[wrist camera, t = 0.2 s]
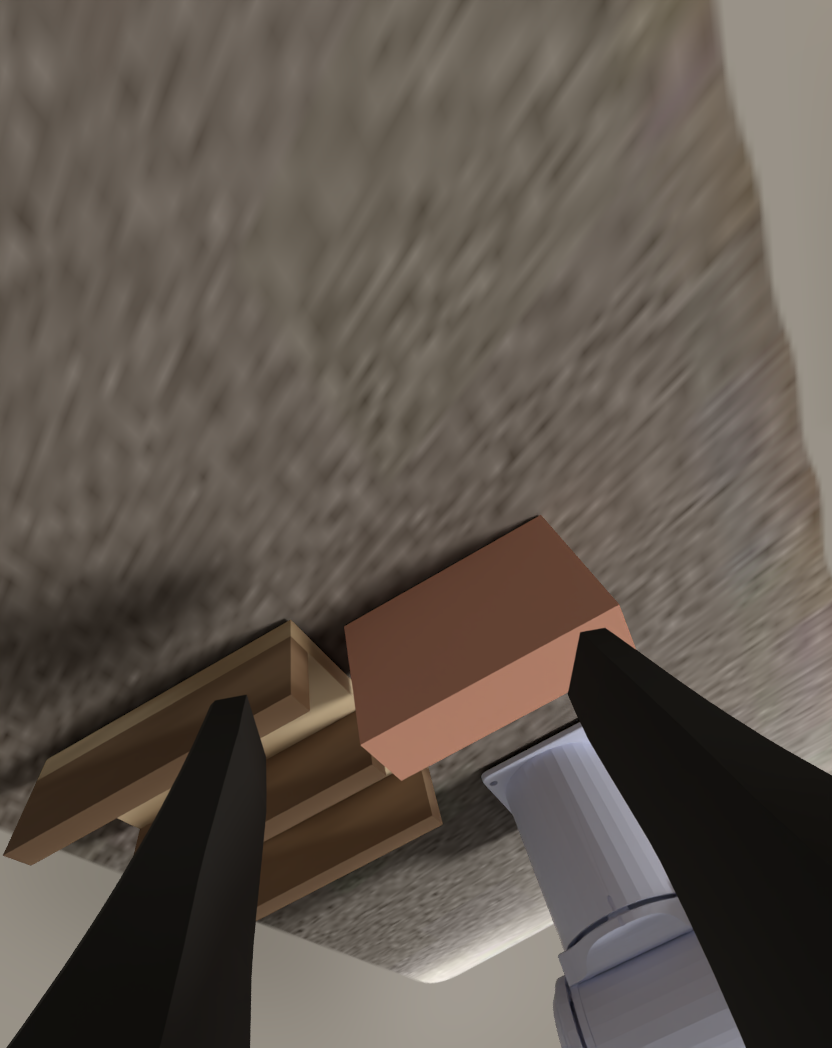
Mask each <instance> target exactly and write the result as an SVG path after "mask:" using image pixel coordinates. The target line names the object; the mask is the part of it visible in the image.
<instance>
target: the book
mask: <svg viewBox="0 0 832 1048" xmlns="http://www.w3.org/2000/svg"><path fill="white" fill-rule="evenodd" d="M600 628H606V629H608V630H609V631H611V632H612V633H613V634H615V635H616V636H618V637H619V638H621V639H622V640H623V641H625V642H626V643H627V644H629V645H630V646H632V647H633V648H634V649H636V648H635V646H634V643H633V640H632V638H631V635H630V632H629V630H628V627H627V624H626V621H625V619H624V616H623V613H622V611H621V608H620V605H619V604H618V603H617V601H616V600H615V599H614V598H613V597H612V596H611V595H610V593H609V592H608V591H607V590H606V589H605V588H604V587H603V585H602V584H601V583H600V582H599V581H598V580H597V579H596V577H595V576H594V575H593V574H592V573H591V572H590V571H589V569H588V568H587V567H586V566H585V565H584V564H583V563H582V561H581V560H580V559H579V558H578V557H577V556H576V555H575V553H574V552H573V551H572V550H571V549H570V548H569V547H568V545H567V544H566V543H565V542H564V541H563V540H562V539H561V537H560V536H559V535H558V534H557V533H556V532H555V531H554V529H553V528H552V527H551V526H550V525H549V524H548V523H547V521H546V520H545V519H544V518H543V517H542V516H541V515H540V516H538V517H536V518H534V519H533V520H531V521H529V522H527V523H526V524H524V525H522V526H520V527H519V528H517V529H515V530H513V531H511V532H510V533H508V534H506V535H504V536H503V537H501V538H499V539H497V540H496V541H494V542H492V543H490V544H489V545H487V546H485V547H483V548H482V549H480V550H478V551H476V552H474V553H473V554H471V555H469V556H467V557H466V558H464V559H462V560H460V561H459V562H457V563H455V564H453V565H452V566H450V567H448V568H446V569H444V570H443V571H441V572H439V573H437V574H436V575H434V576H432V577H430V578H429V579H427V580H425V581H423V582H422V583H420V584H418V585H416V586H415V587H413V588H411V589H409V590H407V591H406V592H404V593H402V594H400V595H399V596H397V597H395V598H393V599H392V600H390V601H388V602H386V603H385V604H383V605H381V606H379V607H377V608H376V609H374V610H372V611H370V612H369V613H367V614H365V615H363V616H362V617H360V618H358V619H356V620H355V621H353V622H351V623H349V624H347V625H346V626H344V630H345V637H346V644H347V652H348V659H349V666H350V673H351V681H352V688H353V695H354V703H355V710H356V717H357V724H358V732H359V739H360V745H361V746H362V747H363V748H364V749H365V750H367V751H368V752H369V753H370V754H371V755H372V756H373V757H375V758H376V759H377V760H378V761H379V762H380V763H382V764H383V765H384V766H385V767H386V768H387V769H388V770H390V771H391V772H392V773H393V774H394V775H395V776H396V777H398V778H399V779H400V780H401V781H402V780H404V779H406V778H407V777H409V776H411V775H413V774H415V773H417V772H419V771H421V770H423V769H424V768H426V767H428V766H430V765H432V764H434V763H436V762H438V761H439V760H441V759H443V758H445V757H447V756H449V755H451V754H453V753H455V752H456V751H458V750H460V749H462V748H464V747H466V746H468V745H470V744H471V743H473V742H475V741H477V740H479V739H481V738H483V737H485V736H487V735H488V734H490V733H492V732H494V731H496V730H498V729H500V728H502V727H503V726H505V725H507V724H509V723H511V722H513V721H515V720H517V719H519V718H520V717H522V716H524V715H526V714H528V713H530V712H532V711H534V710H535V709H537V708H539V707H541V706H543V705H545V704H547V703H549V702H551V701H552V700H554V699H556V698H558V697H560V696H562V695H564V694H566V693H567V692H568V690H569V685H570V680H571V675H572V670H573V665H574V660H575V655H576V650H577V645H578V640H579V635H580V632H584V631H589V630H595V629H600Z"/></svg>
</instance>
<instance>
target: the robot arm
mask: <svg viewBox="0 0 832 1048" xmlns="http://www.w3.org/2000/svg"><path fill="white" fill-rule="evenodd" d="M568 696H569V698H570V700H571V703H572V705H573V707H574V710H575V712H576V714H577V717H578V719H579V721H580V722H579V723H577V724H575V725H573V726H571V727H569V728H567V729H565V730H563V731H561V732H560V733H558V734H556V735H554V736H552V737H550V738H548V739H546V740H544V741H542V742H541V743H539V744H537V745H535V746H533V747H531V748H529V749H527V750H525V751H523V752H521V753H520V754H518V755H516V756H514V757H512V758H510V759H508V760H506V761H504V762H502V763H500V764H499V765H497V766H495V767H493V768H491V769H489V770H487V771H485V772H484V773H483V774H482V776H481V778H482V781H483V783H484V784H485V785H486V787H487V788H488V789H489V790H490V791H491V792H492V793H493V794H494V795H495V796H496V797H497V798H498V799H499V801H500V802H501V803H502V804H503V805H504V806H505V807H506V808H507V809H508V810H509V811H510V812H511V813H512V815H513V817H514V820H515V822H516V825H517V828H518V830H519V833H520V835H521V838H522V841H523V843H524V846H525V849H526V851H527V854H528V857H529V859H530V862H531V864H532V867H533V870H534V872H535V875H536V878H537V880H538V883H539V885H540V888H541V891H542V893H543V896H544V899H545V901H546V904H547V907H548V909H549V912H550V914H551V917H552V920H553V922H554V925H555V928H556V930H557V933H558V935H559V938H560V941H561V943H562V946H563V949H564V952H562V953H560V954H559V955H558V958H559V961H560V963H561V966H562V969H563V972H564V974H565V975H564V976H562V977H560V978H558V979H557V981H556V985H555V995H554V1000H553V1011H554V1018H555V1023H556V1028H557V1032H558V1036H559V1040H560V1043H561V1047H562V1048H832V775H830V774H828V773H826V772H824V771H823V770H821V769H819V768H817V767H816V766H814V765H812V764H810V763H809V762H807V761H805V760H803V759H801V758H800V757H798V756H796V755H794V754H793V753H791V752H789V751H787V750H785V749H784V748H782V747H780V746H779V745H777V744H775V743H774V742H772V741H770V740H769V739H767V738H765V737H764V736H762V735H760V734H759V733H757V732H756V731H754V730H752V729H751V728H749V727H748V726H746V725H745V724H743V723H741V722H740V721H738V720H737V719H735V718H734V717H732V716H730V715H729V714H727V713H726V712H724V711H723V710H721V709H720V708H718V707H717V706H715V705H714V704H712V703H711V702H709V701H708V700H706V699H705V698H703V697H702V696H700V695H699V694H697V693H696V692H695V691H693V690H692V689H690V688H689V687H687V686H686V685H684V684H683V683H682V682H680V681H679V680H677V679H676V678H675V677H673V676H672V675H670V674H669V673H667V672H666V671H665V670H663V669H662V668H661V667H659V666H658V665H656V664H655V663H654V662H652V661H651V660H649V659H648V658H647V657H645V656H644V655H643V654H641V653H640V652H638V651H637V650H636V649H634V648H633V647H632V646H630V645H629V644H627V643H626V642H625V641H623V640H622V639H621V638H619V637H618V636H616V635H615V634H613V633H612V632H611V631H609V630H608V629H606V628H600V629H595V630H589V631H584V632H580V635H579V640H578V645H577V650H576V655H575V660H574V665H573V670H572V675H571V680H570V685H569V690H568ZM266 802H267V784H266V755H265V752H264V748H263V745H262V742H261V739H260V736H259V732H258V729H257V726H256V723H255V720H254V716H253V713H252V710H251V707H250V703H249V700H248V697H247V695H241V696H236V697H231V698H225V699H220V700H215V701H214V702H213V703H212V704H211V705H210V707H209V709H208V712H207V714H206V716H205V719H204V721H203V723H202V725H201V728H200V730H199V732H198V734H197V737H196V739H195V741H194V743H193V745H192V747H191V749H190V751H189V753H188V755H187V757H186V760H185V762H184V764H183V766H182V768H181V770H180V772H179V774H178V776H177V778H176V780H175V781H174V783H173V785H172V787H171V789H170V791H169V793H168V795H167V797H166V799H165V800H164V802H163V804H162V806H161V808H160V810H159V812H158V814H157V816H156V817H155V819H154V821H153V823H152V825H151V827H150V828H149V830H148V832H147V834H146V835H145V837H144V839H143V840H142V842H141V844H140V846H139V847H138V849H137V851H136V852H135V854H134V856H133V858H132V859H131V861H130V863H129V865H128V866H127V868H126V870H125V871H124V873H123V875H122V877H121V879H120V880H119V882H118V883H117V885H116V887H115V888H114V890H113V891H112V893H111V895H110V896H109V898H108V900H107V901H106V903H105V904H104V906H103V907H102V909H101V911H100V912H99V914H98V915H97V917H96V919H95V920H94V922H93V923H92V925H91V926H90V928H89V929H88V931H87V932H86V934H85V935H84V937H83V938H82V940H81V942H80V943H79V944H78V946H77V948H76V949H75V951H74V952H73V954H72V955H71V957H70V958H69V960H68V961H67V963H66V964H65V966H64V967H63V969H62V970H61V971H60V973H59V974H58V976H57V977H56V978H55V980H54V981H53V983H52V984H51V986H50V987H49V989H48V990H47V991H46V993H45V994H44V996H43V997H42V998H41V1000H40V1002H39V1003H38V1004H37V1006H36V1007H35V1009H34V1010H33V1011H32V1013H31V1014H30V1016H29V1017H28V1019H27V1020H26V1021H25V1023H24V1024H23V1026H22V1027H21V1028H20V1030H19V1031H18V1033H17V1034H16V1035H15V1037H14V1038H13V1039H12V1041H11V1042H10V1044H9V1045H8V1046H7V1048H250V1023H251V1022H250V1021H251V975H252V959H253V944H254V933H255V924H256V914H257V904H258V894H259V884H260V873H261V863H262V853H263V843H264V832H265V822H266Z"/></svg>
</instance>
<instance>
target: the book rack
mask: <svg viewBox="0 0 832 1048" xmlns="http://www.w3.org/2000/svg"><path fill="white" fill-rule="evenodd" d="M241 695H247V697H248V700H249V703H250V707H251V710H252V713H253V716H254V720H255V723H256V726H257V729H258V732H259V736H260V739H261V742H262V745H263V748H264V752H265V755H266V784H267V802H266V822H265V832H264V843H263V853H262V863H261V873H260V884H259V894H258V904H257V914H256V921H257V920H259V919H261V918H263V917H265V916H267V915H269V914H271V913H273V912H275V911H277V910H279V909H281V908H283V907H284V906H286V905H288V904H290V903H292V902H294V901H296V900H298V899H300V898H302V897H304V896H306V895H308V894H310V893H311V892H313V891H315V890H317V889H319V888H321V887H323V886H325V885H327V884H329V883H331V882H333V881H335V880H337V879H338V878H340V877H342V876H344V875H346V874H348V873H350V872H352V871H354V870H356V869H358V868H360V867H362V866H364V865H365V864H367V863H369V862H371V861H373V860H375V859H377V858H379V857H381V856H383V855H385V854H387V853H389V852H391V851H392V850H394V849H396V848H398V847H400V846H402V845H404V844H406V843H408V842H410V841H412V840H414V839H416V838H418V837H419V836H421V835H423V834H425V833H427V832H429V831H431V830H433V829H435V828H437V827H439V826H441V825H443V823H442V819H441V815H440V811H439V807H438V803H437V800H436V796H435V792H434V788H433V784H432V780H431V776H430V772H429V768H428V767H426V768H424V769H423V770H421V771H419V772H417V773H415V774H413V775H411V776H409V777H407V778H406V779H404V780H402V781H401V780H400V779H399V778H398V777H396V776H395V775H394V774H393V773H392V772H391V771H390V770H388V769H387V768H386V767H385V766H384V765H383V764H382V763H380V762H379V761H378V760H377V759H376V758H375V757H373V756H372V755H371V754H370V753H369V752H368V751H367V750H365V749H364V748H363V747H362V746H361V745H360V739H359V732H358V724H357V717H356V710H355V703H354V695H353V688H352V681H351V679H350V678H349V677H348V676H347V675H346V674H345V673H344V672H343V671H342V670H341V669H340V668H339V667H338V666H337V665H336V664H335V663H334V662H333V661H332V660H331V659H330V658H329V657H328V656H327V655H326V654H325V653H324V652H323V651H322V650H321V649H320V648H319V647H318V646H317V645H316V644H315V643H314V642H313V641H312V640H311V639H310V638H309V637H308V636H307V635H306V634H305V633H304V632H303V631H301V630H300V629H299V628H298V627H297V626H296V625H295V624H294V623H293V622H292V621H291V620H289V621H287V622H286V623H284V624H282V625H281V626H279V627H277V628H275V629H274V630H272V631H270V632H268V633H267V634H265V635H263V636H261V637H260V638H258V639H256V640H254V641H253V642H251V643H249V644H247V645H246V646H244V647H242V648H240V649H239V650H237V651H235V652H233V653H232V654H230V655H228V656H226V657H225V658H223V659H221V660H220V661H218V662H216V663H214V664H213V665H211V666H209V667H207V668H206V669H204V670H202V671H200V672H199V673H197V674H195V675H193V676H192V677H190V678H188V679H186V680H185V681H183V682H181V683H179V684H178V685H176V686H174V687H172V688H171V689H169V690H167V691H166V692H164V693H162V694H160V695H159V696H157V697H155V698H153V699H152V700H150V701H148V702H146V703H145V704H143V705H141V706H139V707H138V708H136V709H134V710H132V711H131V712H129V713H127V714H125V715H124V716H122V717H120V718H118V719H117V720H115V721H113V722H111V723H110V724H108V725H106V726H105V727H103V728H101V729H99V730H98V731H96V732H94V733H92V734H91V735H89V736H87V737H85V738H84V739H82V740H80V741H78V742H77V743H75V744H73V745H71V746H70V747H68V748H66V749H64V750H63V751H61V752H59V753H57V754H56V755H54V756H52V757H50V758H49V759H47V760H46V762H45V765H44V767H43V769H42V771H41V773H40V776H39V778H38V780H37V782H36V784H35V786H34V789H33V791H32V793H31V795H30V797H29V800H28V802H27V804H26V806H25V808H24V811H23V813H22V815H21V817H20V819H19V822H18V824H17V826H16V828H15V830H14V832H13V835H12V837H11V839H10V841H9V843H8V846H7V848H6V850H5V852H4V854H3V856H6V857H8V858H11V859H14V860H17V861H19V862H22V863H25V864H28V865H33V864H35V863H37V862H38V861H40V860H42V859H44V858H46V857H47V856H49V855H51V854H53V853H55V852H57V851H58V850H60V849H62V848H64V847H66V846H67V845H69V844H71V843H73V842H75V841H76V840H78V839H80V838H82V837H84V836H85V835H87V834H89V833H91V832H93V831H94V830H96V829H98V828H100V827H102V826H103V825H105V824H107V823H109V822H111V821H112V820H114V819H116V818H118V819H120V820H122V821H124V822H126V823H128V824H131V825H133V826H135V827H137V828H139V829H140V832H139V836H138V840H137V844H136V848H135V852H136V851H137V849H138V847H139V846H140V844H141V842H142V840H143V839H144V837H145V835H146V834H147V832H148V830H149V828H150V827H151V825H152V823H153V821H154V819H155V817H156V816H157V814H158V812H159V810H160V808H161V806H162V804H163V802H164V800H165V799H166V797H167V795H168V793H169V791H170V789H171V787H172V785H173V783H174V781H175V780H176V778H177V776H178V774H179V772H180V770H181V768H182V766H183V764H184V762H185V760H186V757H187V755H188V753H189V751H190V749H191V747H192V745H193V743H194V741H195V739H196V737H197V734H198V732H199V730H200V728H201V725H202V723H203V721H204V719H205V716H206V714H207V712H208V709H209V707H210V705H211V704H212V703H213V702H214V701H215V700H220V699H225V698H231V697H236V696H241ZM135 852H134V854H135Z"/></svg>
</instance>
